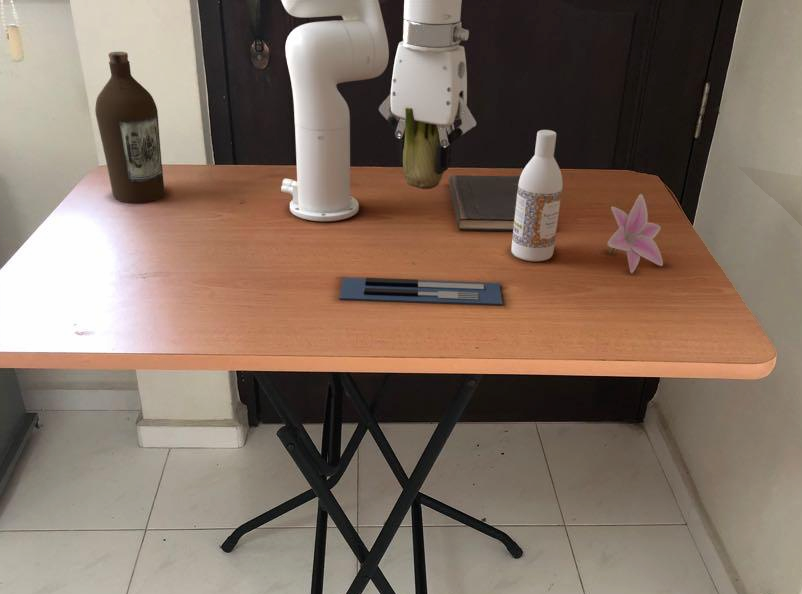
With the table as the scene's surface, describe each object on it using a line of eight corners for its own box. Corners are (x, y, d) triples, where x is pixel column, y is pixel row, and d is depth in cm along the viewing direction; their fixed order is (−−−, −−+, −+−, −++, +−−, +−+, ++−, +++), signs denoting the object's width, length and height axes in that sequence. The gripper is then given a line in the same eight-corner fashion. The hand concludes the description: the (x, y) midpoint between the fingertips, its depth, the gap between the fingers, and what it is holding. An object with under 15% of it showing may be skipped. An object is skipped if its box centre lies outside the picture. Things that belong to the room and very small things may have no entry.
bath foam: (529, 266, 134) (545, 141, 123) (502, 251, 139) (514, 129, 127) (561, 257, 137) (579, 134, 126) (533, 242, 142) (548, 123, 131)
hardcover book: (528, 187, 165) (530, 176, 164) (548, 232, 146) (549, 219, 145) (448, 186, 165) (449, 174, 163) (457, 230, 146) (458, 218, 144)
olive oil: (99, 193, 156) (74, 51, 142) (149, 181, 163) (130, 44, 149) (128, 208, 150) (104, 62, 136) (178, 195, 156) (161, 54, 143)
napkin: (339, 299, 122) (339, 297, 122) (343, 279, 128) (343, 277, 128) (502, 305, 122) (502, 303, 122) (498, 284, 128) (499, 283, 128)
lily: (588, 277, 133) (623, 237, 126) (576, 225, 140) (609, 183, 132) (650, 294, 137) (687, 256, 130) (635, 242, 144) (670, 203, 136)
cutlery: (363, 296, 123) (363, 292, 122) (365, 281, 127) (365, 277, 127) (485, 300, 123) (485, 296, 122) (483, 285, 127) (483, 281, 126)
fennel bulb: (400, 190, 121) (403, 105, 114) (405, 178, 125) (409, 96, 118) (439, 193, 121) (445, 109, 114) (443, 182, 125) (449, 99, 118)
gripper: (500, 37, 111) (487, 171, 121) (387, 22, 117) (384, 150, 127) (479, 47, 105) (467, 186, 116) (361, 30, 111) (360, 164, 122)
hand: (423, 166), depth 121 cm, fingers closed on fennel bulb, 5 cm apart
